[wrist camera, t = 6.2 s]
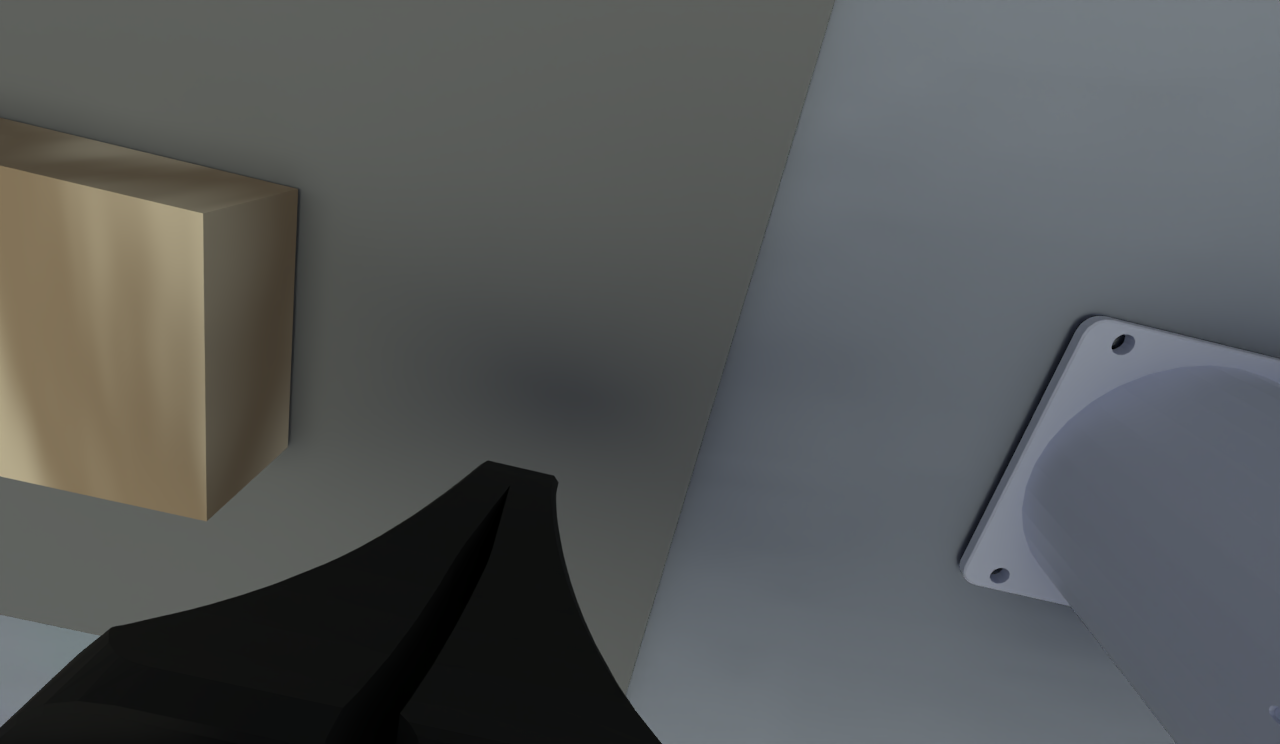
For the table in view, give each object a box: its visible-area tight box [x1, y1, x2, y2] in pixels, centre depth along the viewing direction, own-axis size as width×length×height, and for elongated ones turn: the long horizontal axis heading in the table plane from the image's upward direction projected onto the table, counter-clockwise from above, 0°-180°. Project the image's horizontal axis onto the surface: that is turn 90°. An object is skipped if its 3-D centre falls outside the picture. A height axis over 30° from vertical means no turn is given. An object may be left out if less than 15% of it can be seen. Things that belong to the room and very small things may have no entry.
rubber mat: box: [0, 0, 835, 695], centre depth 18 cm, size 22×24×1 cm
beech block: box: [0, 118, 298, 521], centre depth 16 cm, size 4×7×8 cm
